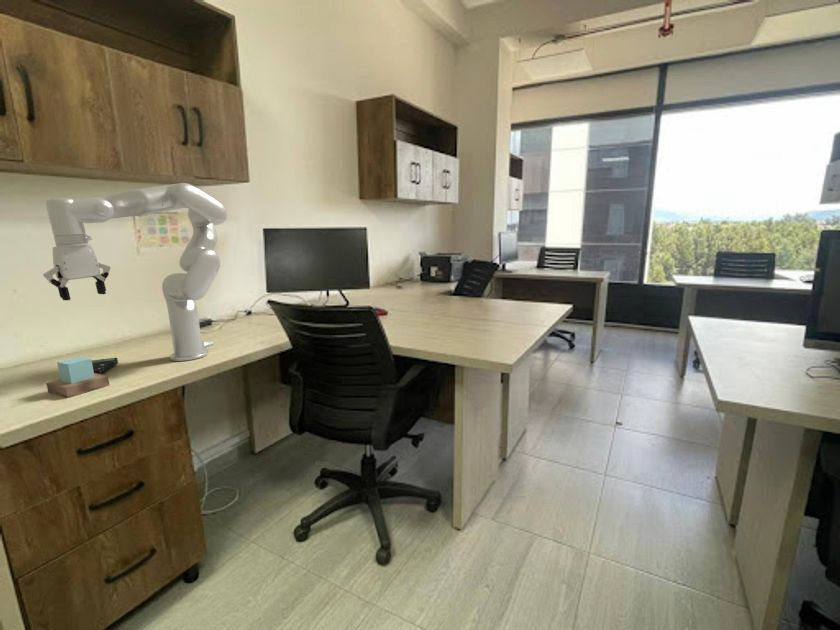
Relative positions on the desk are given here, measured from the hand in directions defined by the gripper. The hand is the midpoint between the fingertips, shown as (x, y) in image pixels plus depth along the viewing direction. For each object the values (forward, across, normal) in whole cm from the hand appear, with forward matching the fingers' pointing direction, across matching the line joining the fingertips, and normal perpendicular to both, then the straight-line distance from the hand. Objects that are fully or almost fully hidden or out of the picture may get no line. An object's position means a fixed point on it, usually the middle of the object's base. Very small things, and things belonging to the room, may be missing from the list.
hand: (84, 296), depth 128 cm
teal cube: (+24, +8, +2) cm, 25 cm away
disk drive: (+28, -4, -13) cm, 31 cm away
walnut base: (+27, +8, +2) cm, 28 cm away
